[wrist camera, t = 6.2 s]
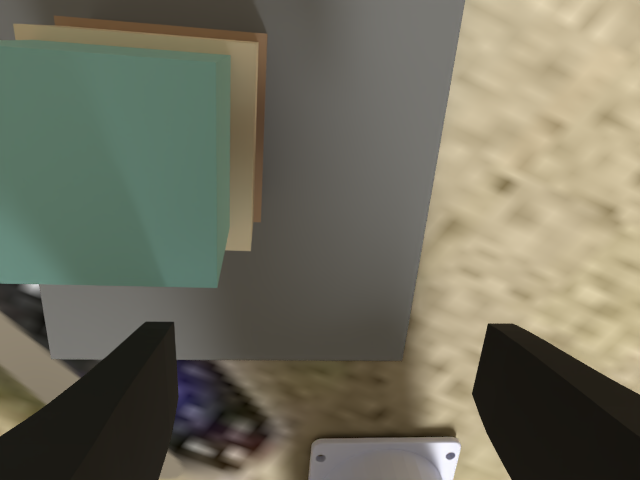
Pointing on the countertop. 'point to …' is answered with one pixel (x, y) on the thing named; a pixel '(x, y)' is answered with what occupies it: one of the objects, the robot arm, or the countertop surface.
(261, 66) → the tower base
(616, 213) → the countertop surface
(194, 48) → the tower mid
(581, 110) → the countertop surface
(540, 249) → the countertop surface
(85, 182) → the teal block
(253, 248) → the mat
